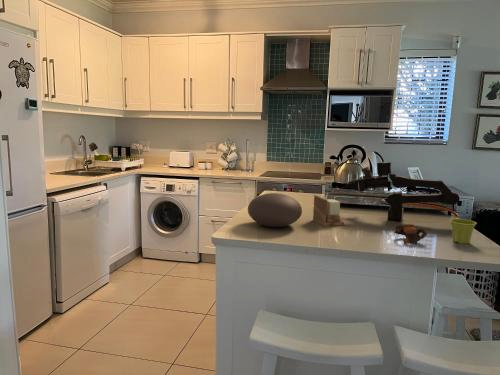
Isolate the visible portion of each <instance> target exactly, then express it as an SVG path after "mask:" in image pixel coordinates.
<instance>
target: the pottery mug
mask: <svg viewBox="0 0 500 375" xmlns="http://www.w3.org/2000/svg"><path fill="white" fill-rule="evenodd" d="M420 233H422V234H421V235H420ZM395 234H396V235H400V236H401V235H402V236H405V238H402V242H403V244H404V245H409V244H412V245H418V242H420V241H421V240H423V239H425V237H426V236H427V231H426V229H425V228H421V227H420V228H416V227H415V225H414V224H412V223H411V224H409V223H407V224H401V225H397V226H395V230H394V235H395Z"/></svg>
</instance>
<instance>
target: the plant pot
mask: <svg viewBox="0 0 500 375" xmlns="http://www.w3.org/2000/svg"><path fill="white" fill-rule="evenodd" d="M450 222H451V228H452V230H451V231H452V232H451V233H452V234H451V235H452V242H454V243H458V244H465V245H467V244H470V242H471V240H472V235H473V231H474V229H475V227H476V225H477V222H476V221H473V220H469V219H462V218H451V219H450Z"/></svg>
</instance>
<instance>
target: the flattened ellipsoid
mask: <svg viewBox="0 0 500 375" xmlns="http://www.w3.org/2000/svg"><path fill="white" fill-rule="evenodd" d="M302 208H303V207H302V206H301V204H300V203H299V201H298V200H296V198H293V197H292V196H290V195H288V194H285V193H284V194H283V193H277V192H274V193H272V192H270V193H264V194H260V195H258V196H256V197H254V198H253V199H252V200H251V201H250V202H249V203H248V205H247V213H248V216H249V218H251V219H252V220H253V221H254V222H256V223H258V224H260V225H262V226H266V227H270V228H280V227H286V226H290V225H292V224H294V223H296V222H297V221H298V220H299V219H300V217H301V216H302V213H303V210H302Z"/></svg>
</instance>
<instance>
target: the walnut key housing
mask: <svg viewBox="0 0 500 375" xmlns="http://www.w3.org/2000/svg"><path fill="white" fill-rule="evenodd" d="M312 211H313V214H312V215H313V216H312V220H313V221H314V222H316V223H317V224H319V225H321V226H322V227H333V226H344V225H345V221H342V220H341V215H340V214H339V215H327V219H326V212H327V198H324V197H321V196H319V195H317V194H314V196H313V210H312Z"/></svg>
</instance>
